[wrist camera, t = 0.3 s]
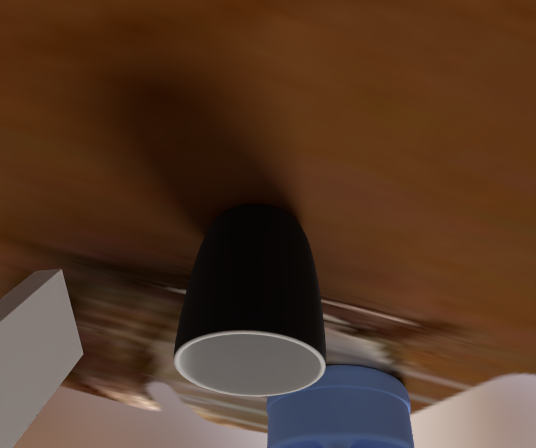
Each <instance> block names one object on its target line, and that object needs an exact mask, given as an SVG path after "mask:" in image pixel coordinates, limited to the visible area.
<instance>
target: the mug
mask: <svg viewBox="0 0 536 448" xmlns="http://www.w3.org/2000/svg"><path fill="white" fill-rule="evenodd" d="M174 364H175V367H176V368H177V370H178V371H179V373H180V374H181V375H182V376H183V377H185V378H186V379H187V380H189V381H191V382H192V383H194V384H196V385H199V386H201V387H203V388H206V389H209V390H213V391H216V392H221V393H226V394H232V395H240V396H273V395H281V394H287V393H291V392H295V391H298V390H301V389H304V388H306V387H308V386H310V385H312V384H313V383H315V382H316V381H317V380H319V379H320V377H321V376H322V375H323V374H324V371H325V368H326V343H325V331H324V321H323V312H322V304H321V297H320V291H319V284H318V279H317V273H316V269H315V264H314V260H313V256H312V252H311V248H310V245H309V242H308V239H307V237H306V235H305V233H304V231H303V229H302V228H301V226H300V225H299V223H298V222H297V221H296V220H295V219H294V218H293V217H292V216H290V215H289V214H287V213H286V212H284V211H282V210H280V209H277V208H274V207H270V206H265V205H245V206H240V207H236V208H233V209H231V210H229V211H227V212H225V213H223V214H222V215H221V216H220V217H218V218H217V219H216V221H215V222H214V223H213V224H212V225H211V227H210V228H209V230H208V232H207V233H206V235H205V237H204V240H203V242H202V244H201V247H200V249H199V252H198V255H197V258H196V261H195V264H194V267H193V270H192V273H191V277H190V280H189V284H188V288H187V291H186V295H185V299H184V303H183V307H182V312H181V316H180V321H179V326H178V331H177V336H176V342H175V349H174Z"/></svg>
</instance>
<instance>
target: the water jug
mask: <svg viewBox="0 0 536 448" xmlns="http://www.w3.org/2000/svg"><path fill="white" fill-rule="evenodd" d="M267 414H268V444H267V448H414V442H413V435H412V429H411V422H410V415H409V414H410V400H409V396H408V392H407V390H406V388H405V387H404V385H403V384H402V383H401V382H400V381H399V380H397V379H396V378H395V377H393V376H391V375H389V374H387V373H385V372H382V371H379V370H375V369H371V368H366V367H360V366H351V365H328V366H326V368H325V371H324V374H323V375H322V376H321V377H320V379H319V380H317V381H316V382H315V383H313V384H312V385H310V386H308V387H306V388H304V389H301V390H298V391H295V392H291V393H287V394H281V395H273V396H268V398H267Z"/></svg>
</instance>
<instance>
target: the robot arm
mask: <svg viewBox="0 0 536 448" xmlns="http://www.w3.org/2000/svg"><path fill="white" fill-rule="evenodd" d="M82 355H83V351H82V347H81V343H80V339H79V335H78V331H77V327H76V323H75V319H74V316H73V312H72V308H71V304H70V300H69V296H68V292H67V288H66V284H65V281H64V277H63V273H62V269H55V270H42V271H35V272H34V273H33V274H32V275H30V276H29V277H28V278H26V279H25V280H24V281H23V282H21V283H20V284H19V285H18V286H16V287H15V288H14V289H13V290H11V291H10V292H9V293H7V294H6V295H5V296H4V297H2V298H1V299H0V448H12V447H13V446H14V445H15V443H16V442H17V441H18V440H19V438H20V437H21V436H22V434H23V433H24V432H25V430H26V429H27V428H28V426H29V425H30V424H31V422H32V421H33V420H34V418H35V417H36V416H37V415H38V413H39V412H40V411H41V409H42V408H43V407H44V405H45V404H46V403H47V401H48V400H49V399H50V397H51V396H52V394H53V393H54V392H55V390H56V389H57V388H58V387H59V385H60V384H61V383H62V382H63V380H64V379H65V378H66V376H67V375H68V374H69V372H70V371H71V370H72V368H73V367H74V366H75V364H76V363H77V362H78V360H79V359H80V358H81V356H82Z"/></svg>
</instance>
